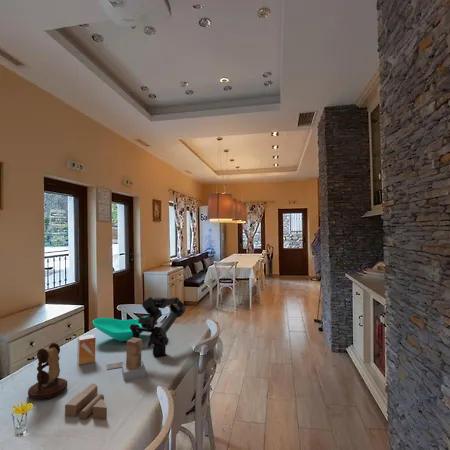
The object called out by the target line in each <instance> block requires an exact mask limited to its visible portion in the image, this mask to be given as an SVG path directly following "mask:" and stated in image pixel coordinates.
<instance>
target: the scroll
mask: <svg viewBox="0 0 450 450" xmlns="http://www.w3.org/2000/svg"><path fill="white" fill-rule="evenodd" d="M60 351H61V348H60V345H59V344H58V343H56V342H53V343H50V345H49V347H48V349H45V348H39V350H38V351H37V352H36V358H37V361H38V363H37V365H38V366H37V368H36V370H37V372H38V373H37V374H36V379H37V382H36V383H34V384H33V385H31V386H30V387H29V388H28V390H27V395H28V398H32V399H45V398H48V400H51V398H52V397H53V396H56V395H58V394H60V393H62V392H64V391H65V390H66V389H67V387H68V380H66V379H65V378H61V377H60V372H61V369H60ZM46 367H48V371H46V370H44V368H45V369H46Z"/></svg>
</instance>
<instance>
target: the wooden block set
mask: <svg viewBox="0 0 450 450" xmlns="http://www.w3.org/2000/svg"><path fill="white" fill-rule="evenodd" d="M98 389H99V388H98V385H97V384H96V383H90V384H89V385H87V387H85V388H84V389H83V391H81V392H78V394H76V395H74V397H72V399H71V400H69V401H68V402H67V403H66V404H64V416H65V417H68V418H70V417H71V418H77V417H79V418H80V419H81V420H86V419H87V418H88V417H90V415H91V414H92V419H95V420H96V419H97V420H105V421H107V420H108V419H107V418H108V416H107V413H108V409H107V405H106V403H105V401H104V400H105V396H104V394H103V393H99V394H98Z"/></svg>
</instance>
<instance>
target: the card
mask: <svg viewBox="0 0 450 450" xmlns="http://www.w3.org/2000/svg"><path fill="white" fill-rule="evenodd" d="M122 364H124V361H121V362H115V363H108V364H106V371H109V370H115V369H116V370H117V369H122Z"/></svg>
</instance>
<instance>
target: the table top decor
mask: <svg viewBox="0 0 450 450" xmlns="http://www.w3.org/2000/svg"><path fill="white" fill-rule="evenodd" d="M143 317H144V318H145V317H148V315H144V316H143ZM138 321H139V317H138V318H135V319H133V318H132V319H117V318H111V317H98V318H97V317H96V318H94V319H93V320H92V325H93V326H94V327H95V328H96V329H97V330H98V331H100V332H102V333H103V334H105V335H107V336H108V337H110V338H112V339H114V340H116V341H118V342H127V341H128V340H129V339H131V338H133V332H132V331H131V329H130V326H131V324H138V325H139V326H140V327H143V326H141V324H140V323H138ZM142 333H144V332H143V331H141V333H139V334H140V335H141V334H142Z"/></svg>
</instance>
